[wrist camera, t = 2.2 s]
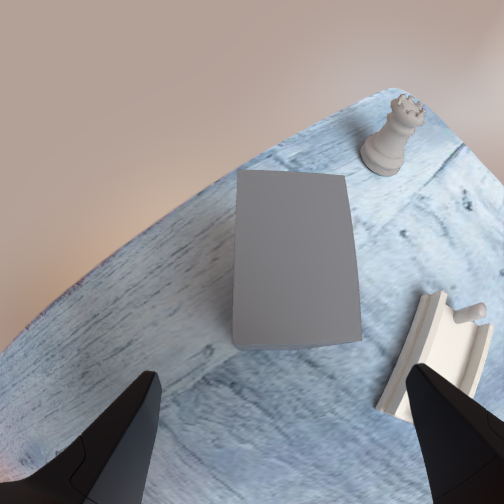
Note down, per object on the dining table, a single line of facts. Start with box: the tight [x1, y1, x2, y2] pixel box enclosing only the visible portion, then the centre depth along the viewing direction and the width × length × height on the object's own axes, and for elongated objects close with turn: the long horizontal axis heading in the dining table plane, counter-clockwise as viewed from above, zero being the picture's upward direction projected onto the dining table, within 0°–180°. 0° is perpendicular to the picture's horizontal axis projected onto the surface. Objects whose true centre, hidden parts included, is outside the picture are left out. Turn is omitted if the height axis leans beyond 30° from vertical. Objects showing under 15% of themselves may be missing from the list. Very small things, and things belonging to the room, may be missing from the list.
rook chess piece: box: [360, 94, 426, 176], centre depth 22 cm, size 4×4×8 cm
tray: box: [375, 290, 494, 424], centre depth 17 cm, size 10×8×4 cm
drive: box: [232, 170, 362, 350], centre depth 15 cm, size 6×4×12 cm, turn 179°
